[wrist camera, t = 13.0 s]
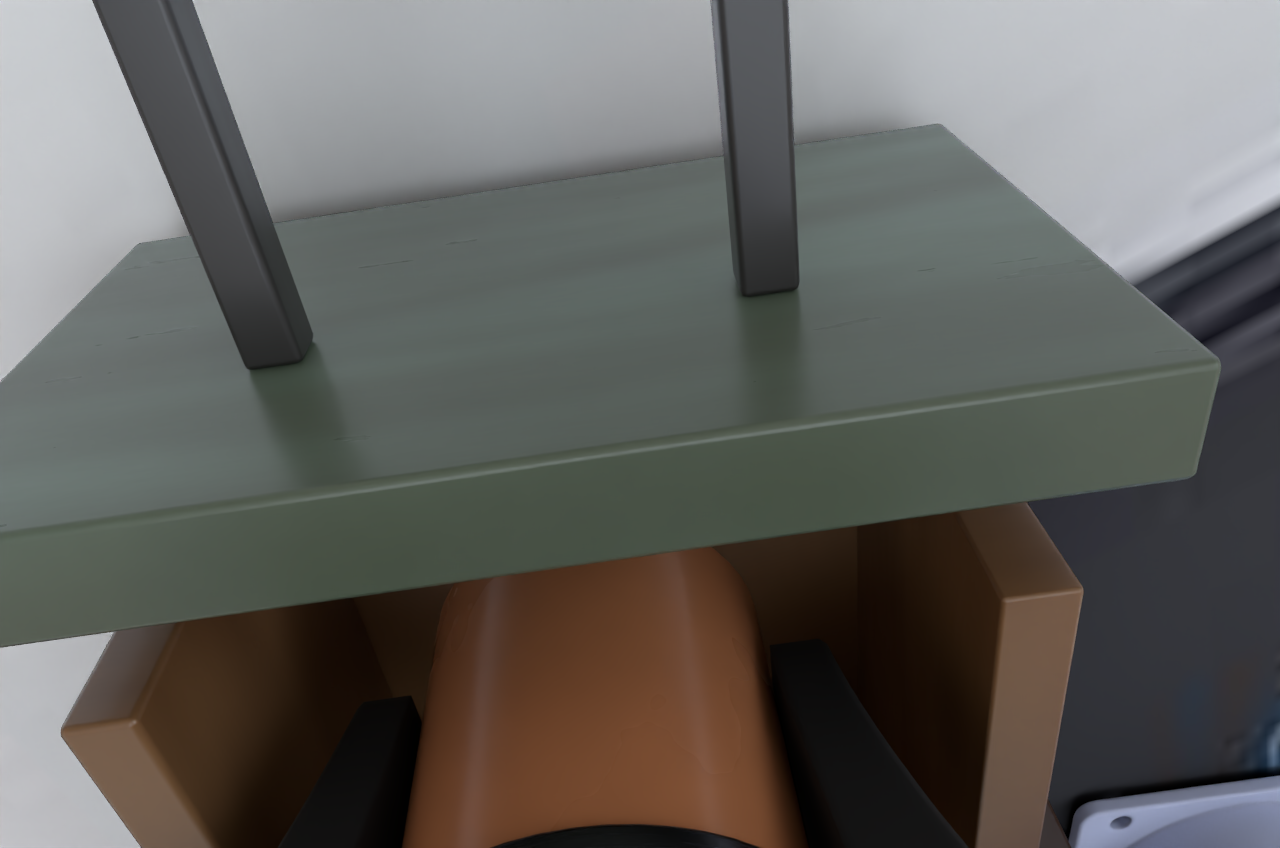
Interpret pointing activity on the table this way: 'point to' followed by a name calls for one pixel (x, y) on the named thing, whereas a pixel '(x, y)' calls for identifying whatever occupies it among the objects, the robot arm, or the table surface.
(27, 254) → the table surface
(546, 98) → the table surface
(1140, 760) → the table surface
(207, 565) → the drawer
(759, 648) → the spice tin
